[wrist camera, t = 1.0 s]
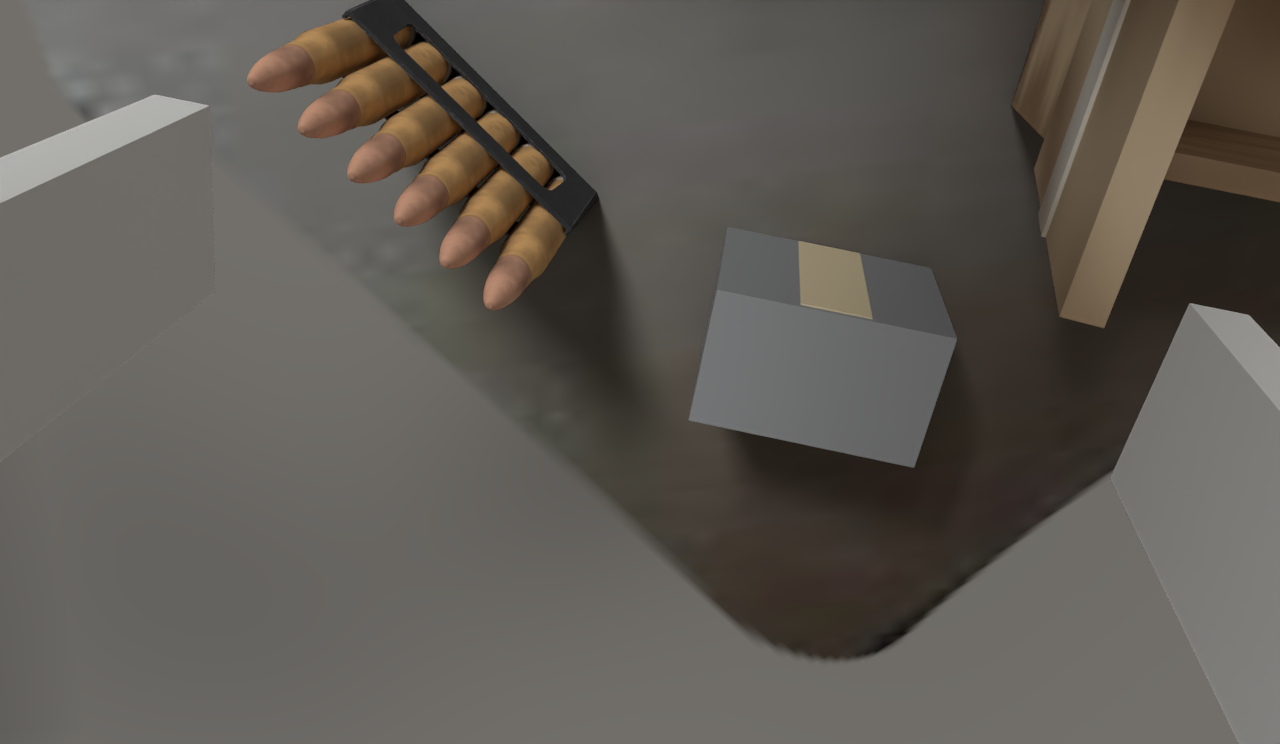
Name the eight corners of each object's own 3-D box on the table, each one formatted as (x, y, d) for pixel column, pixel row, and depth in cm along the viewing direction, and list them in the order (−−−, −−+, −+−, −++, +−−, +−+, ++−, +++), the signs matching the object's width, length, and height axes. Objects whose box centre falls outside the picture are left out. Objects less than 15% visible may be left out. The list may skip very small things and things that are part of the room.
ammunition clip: (600, 195, 41) (534, 309, 30) (568, 227, 42) (492, 348, 31) (393, -12, 39) (241, 31, 28) (363, 25, 39) (204, 81, 29)
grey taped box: (727, 224, 41) (717, 288, 35) (931, 266, 41) (957, 337, 34) (702, 342, 43) (688, 421, 37) (894, 382, 43) (913, 469, 37)
